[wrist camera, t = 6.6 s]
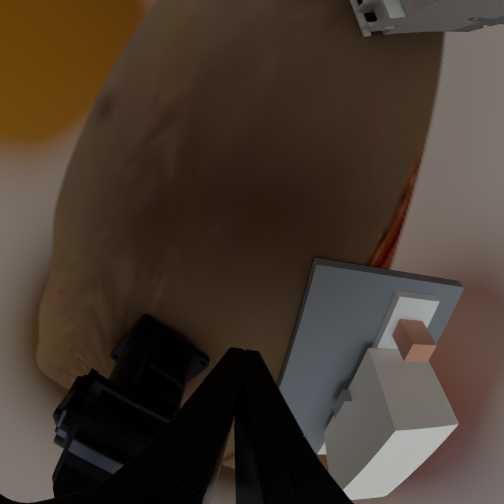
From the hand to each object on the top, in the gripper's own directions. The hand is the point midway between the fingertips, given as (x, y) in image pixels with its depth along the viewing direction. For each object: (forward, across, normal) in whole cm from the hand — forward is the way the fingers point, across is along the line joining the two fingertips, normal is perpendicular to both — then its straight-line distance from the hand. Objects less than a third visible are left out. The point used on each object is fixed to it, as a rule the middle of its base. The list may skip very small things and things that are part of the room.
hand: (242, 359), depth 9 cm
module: (+11, -12, +13) cm, 21 cm away
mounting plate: (+12, -10, +13) cm, 20 cm away
